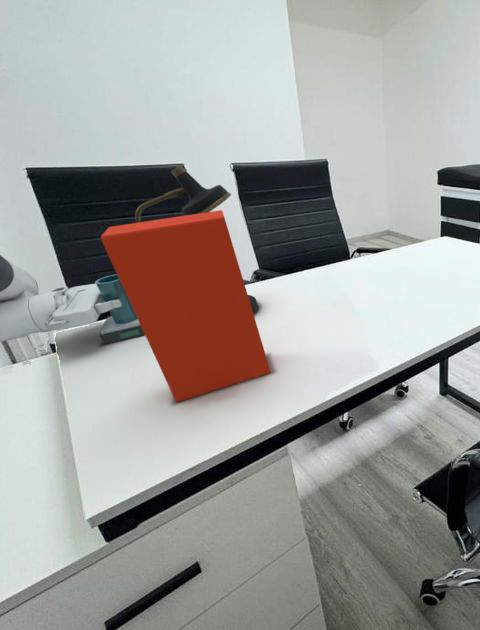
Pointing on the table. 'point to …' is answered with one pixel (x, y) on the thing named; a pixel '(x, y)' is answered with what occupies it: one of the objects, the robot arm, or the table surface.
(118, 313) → the cup
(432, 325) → the table surface
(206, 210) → the lamp
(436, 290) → the table surface
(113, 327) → the scale
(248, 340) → the file binder
